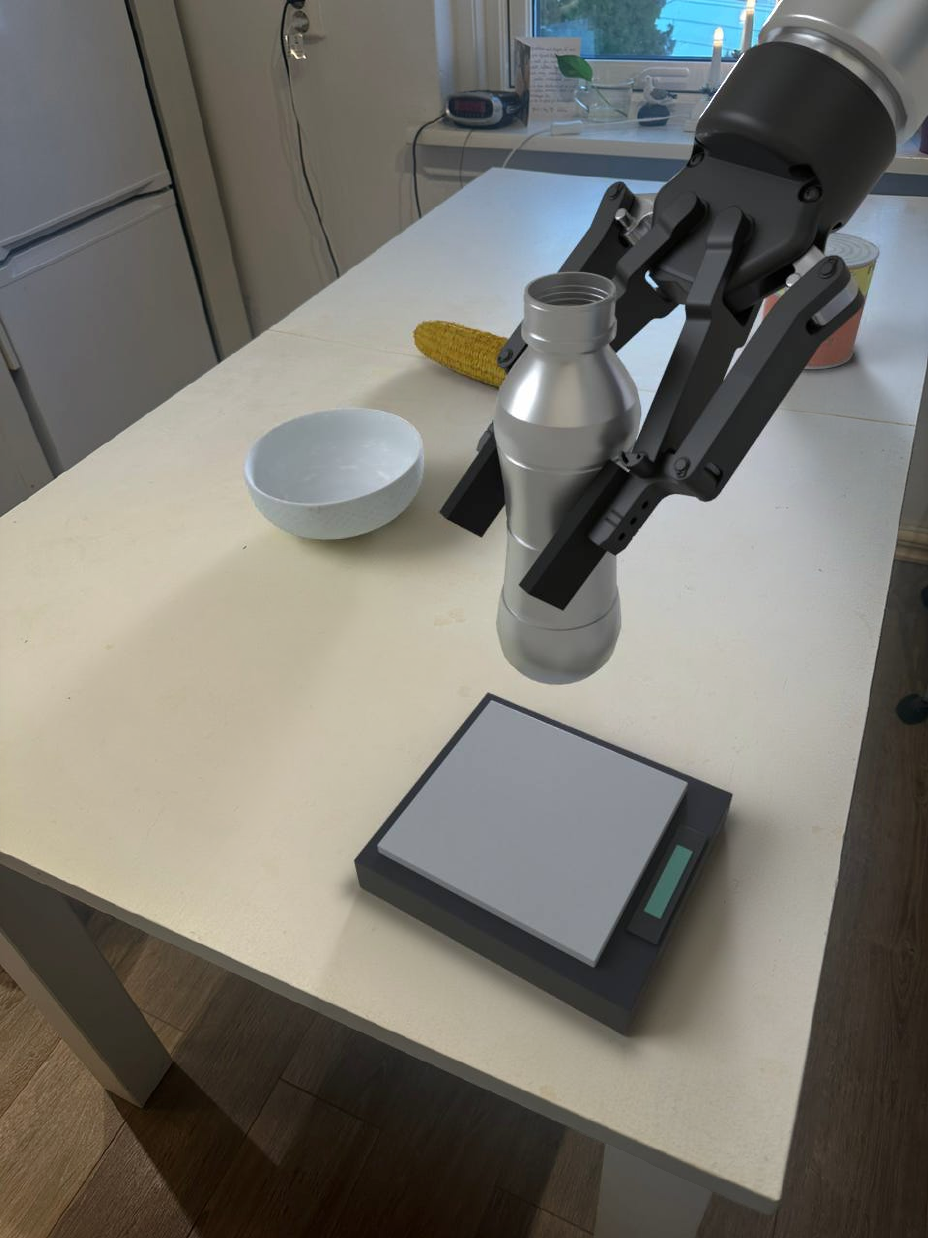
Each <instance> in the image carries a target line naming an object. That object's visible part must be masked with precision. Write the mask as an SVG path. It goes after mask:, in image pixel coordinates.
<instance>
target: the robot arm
mask: <svg viewBox="0 0 928 1238" xmlns="http://www.w3.org/2000/svg"><path fill="white" fill-rule="evenodd" d="M756 41H757V42H756V45H754V46H752V47H749V48H748V49H746V50H745V51H744V52H743V54H742V55H741V56H740V57H739V59H738V60H737V62H736V63H735V64H734V66H733V67H732V69H731V71H730V72H729V73H728V75H727V76H726V78H725V80H723V82H722V84H721V85H720V86H719V88H718V90H717V91H716V93H715V94H714V96H713V97H712V99H711V101H709V103H708V105H707V106H706V108H705V109H704V110H703V112H702V113H701V115H700V116H699V118H698V120H697V122H696V125H695V128H694V137H693V138H694V139H693V145H692V151H691V154H690V158H689V160H688V162H687V163H686V165H684V166H683V168H681V170H679V172H678V173H676V174H675V175H674V176H673V177H672V178H670V179H669V180H668V181H667V182H665V183H664V184H663V185H662V186H661V188H660V189H659V190H658V192H651V193H650V192H649V193H648V192H647V193H646V192H645V193H634V192H632V191H631V189H630V188H629V186H627V184H626V183H625V181H621V180H618V181H615V182H613V183H612V184H610V185H609V186H608V187H607V189H606V190H605V192H604V194H603V196H602V198H601V200H600V203H599V205H598V208H597V210H596V212H595V214H594V217H593V220H592V222H591V224H590V226H589V228H588V229H587V231H586V232H585V233H584V235H583V236H582V237H581V239H580V240H579V241H578V243H577V244H576V246H574V248H573V250H572V251H571V252H570V253H569V256H568V257H566V260H565V261H564V262H563V263H562V265H561V266H560V267H559V269H558V271H557V272H556V273H560V272H586V273H593V274H597V275H600V276H603V277H606V278H607V279H609V280H611V281H612V282H613V283H614V285H615V287H616V306H615V317H616V319H617V331H616V336H615V338H614V339H613V340H612V341H611V342H610V343H609V345H610V346H611V348H612V349H613V350H614V352H615V353H616V354H617V353H618V352H619V351H621V349H622V348H623V347H625V346H626V345H627V344H628V343H629V342H630V341H631V340H632V339H633V338H634V337H635V336H637V334H639V333H640V332H641V331H642V330H643V329H644V328H645V327H646V326H648V324H650V322H652V321H653V320H656V319H657V320H658V319H659V320H661V319H662V320H663V319H664V318H667V317H668V316H669V315H670V314H671V313H672V312H673V311H674V310H676V309H677V308H678V306H680V305H681V306H682V305H683V306H684V311H685V312H684V313H685V321H684V323H683V325H682V328H681V331H680V333H679V336H678V338H677V340H676V343H675V346H674V348H673V350H672V353H671V354H670V355H671V356H670V357H669V360H668V363H667V365H666V367H665V370H664V371H663V372H664V373H663V374H662V376H661V379H660V382H659V385H658V387H657V389H656V392H655V394H654V396H653V399H652V401H651V404H650V407H649V409H648V411H647V413H646V416H645V418H644V420H643V424H642V425H641V429H640V430H639V432H638V435H637V438H636V443H635V445H634V448H633V450H632V453H631V452H626V451H625V453H624V452H623V451H621V450H620V453H619V460H620V462H621V463H622V465H623V466H625V467H626V468H627V469H629V471H628V472H627V471H626V470H624V469H623V468H622V467H621V466H619V465H618V464H616V463H615V462H613V461H612V460H608V461H607V462H606V463H605V465H604V466H603V468H602V469H601V470H600V472H599V473H598V475H597V476H596V477H595V479H594V480H593V481H592V483H591V484H590V486H589V487H588V488H587V490H586V491H585V493H584V494H583V495H582V497H581V498H580V500H579V501H578V502H577V504H576V505H575V507H574V508H573V509H572V511H571V512H570V514H569V515H568V516H567V518H566V519H565V521H564V522H563V523H562V525H561V526H560V528H559V529H558V530H557V532H556V533H555V535H554V536H553V537H552V539H551V540H550V542H549V543H548V544H547V546H546V547H545V548H544V550H543V551H542V553H541V554H540V555H539V557H538V558H537V560H536V561H535V562H534V564H533V565H532V567H531V568H530V569H529V571H528V572H527V574H526V575H525V576H524V578H523V579H522V581H521V582H520V583H519V586H520V587H521V588H522V589H523V590H524V591H525V592H526V593H527V594H529V595H531V596H533V597H535V598H537V599H539V600H541V601H543V602H546V603H548V604H550V605H552V606H554V607H556V608H558V609H560V610H562V611H564V609H565V608H566V607H567V605H568V604H569V603H570V601H571V600H572V598H573V597H574V596H575V594H576V593H577V592H578V590H579V589H580V588H581V586H582V585H583V584H584V582H585V581H586V579H587V578H588V577H589V575H590V574H591V573H592V571H593V570H594V569H595V567H596V566H597V564H598V563H599V562H600V560H601V559H602V558H603V556H604V555H605V554H606V552H607V551H608V552H610V553H611V554H613V555H615V556H616V557H617V555H619V554H620V553H622V552H623V551H624V550H626V549H627V548H628V546H629V545H630V543H631V542H632V540H633V539H634V537H635V536H636V535H637V534H638V533H639V531H640V529H642V527H643V526H644V525H645V523H646V522H647V521H648V519H649V518H650V516H651V515H652V514H653V512H654V511H655V510H656V508H657V507H658V506H659V504H660V503H661V502H662V501H663V500H664V499H666V498H667V497H669V496H673V495H680V496H686V497H691V498H696V499H697V500H698V501H700V502H703V503H708V502H712V501H714V500H716V499H717V498H718V497H719V495H721V493H722V491H723V490H724V488H725V487H726V486H727V484H728V483H729V481H730V480H731V478H732V476H733V475H734V474H735V472H736V471H737V469H738V468H739V466H740V465H741V463H742V462H743V460H744V459H745V457H746V456H747V454H748V453H749V452H750V450H751V448H752V447H753V445H754V444H755V443H756V441H757V440H758V438H759V436H761V434H762V432H763V431H764V429H765V427H766V426H767V425H768V423H769V422H770V420H771V419H772V417H773V416H774V414H775V413H776V412H777V410H778V409H779V407H780V405H781V404H782V402H783V401H784V399H785V398H786V396H787V395H788V394H789V392H790V390H791V389H792V387H793V386H794V385H795V383H796V382H797V380H798V379H799V377H800V376H801V374H802V373H803V371H804V370H805V369H804V368H805V367H806V365H807V364H808V362H809V361H810V359H811V358H812V356H813V355H814V353H815V352H816V350H817V349H818V347H819V346H820V345H821V344H822V343H823V342H824V341H825V340H826V339H827V338H828V337H830V336H831V335H832V334H833V333H834V332H835V331H837V330H838V329H839V328H840V327H841V326H842V325H843V324H845V323H846V322H847V321H848V320H849V319H850V318H852V317H853V316H854V315H855V314H856V313H857V312H858V311H859V310H860V309H861V308H862V306H863V303H864V295H863V294H862V292H861V290H860V288H859V287H858V285H857V283H856V281H855V279H854V278H853V276H852V274H851V272H850V271H849V269H848V267H847V266H846V264H845V262H844V260H843V259H842V257H839V256H837V255H830V256H826V255H825V254H824V253H825V248H826V243H827V239H828V237H829V234H832V233H838V231H840V230H842V229H844V227H846V225H847V224H848V223H849V222H850V221H851V219H852V217H854V215H855V213H856V212H857V210H858V209H859V208H860V206H862V204H863V202H864V201H865V200H866V198H867V197H868V196H869V194H870V193H871V192H872V190H873V189H874V188H875V186H876V185H877V183H878V182H879V181H880V179H881V178H882V177H883V175H885V173H886V171H887V170H888V168H889V167H890V166H891V164H892V163H893V162H894V160H895V157H896V154H897V146H903V145H904V144H905V143H907V141H909V140H910V139H911V138H912V137H914V135H915V134H916V132H917V131H918V129H919V128H920V127H921V125H922V124H923V122H924V121H925V120H926V118H927V117H928V0H779V1H778V3H777V4H776V6H775V7H774V9H773V10H772V12H771V14H770V15H769V16H768V18H767V19H766V21H765V22H764V23H763V25H762V27H761V28H760V30H759V32H758V35H757V40H756ZM647 273H648V277H649V278H650V279H651V281H653V283H654V284H655V285H656V286H657V287H655V286H653V285H652V283H650V282H649V280H648V279H647V278H646V274H647ZM785 287H786V290H785V293H784V294H783V295H782V296H781V297H780V299H779V300H778V301H777V302H776V303H775V304H774V306H773V307H772V308H771V310H770V311H769V312H768V314H767V315H766V317H765V318H764V320H763V321H762V323H761V322H760V324H759V326H758V327H757V329H756V330H755V332H754V333H753V334H752V336H751V338H750V339H749V337H750V334H751V331H752V330H753V326H754V325H755V322H756V320H757V318H758V317H757V316H758V314H759V312H760V309H761V307H762V305H763V302H764V301H765V298H767V297H769V296H771V295H772V294H774V293H776V292H778V291H780V290H782V289H783V288H785ZM521 325H522V320H521V322H519V324H518V326H517V327H516V329H514V331H513V332H512V334H510V337H508V341H507V342H506V343H505V345H504V346H503V348H502V349H501V350H500V352H499V354H498V356H497V364H498V366H499V367H500V368H502V369H503V370H504V371H505V373H506V375H508V373H509V372H510V370H511V368H512V367H513V365H514V364H515V363H516V361H517V360H518V359H519V357H520V356H521V355H522V353H523V352H524V351H525V350H526V348H527V347H528V344H527V343H526V342H525V341H524V340H523V338H522V330H521ZM748 339H749V341H748ZM746 343H747V344H746ZM744 346H745V347H744ZM741 348H744V349H743V350H742V352H741V353H740V354H739V356H738V357H737V359H736V361H735V362H734V364H733V365H732V367H731V368H730V366H731V362H732V360H733V359H734V356H735V354H736V351H737V350H738V349H741ZM729 368H730V369H729ZM728 370H729V371H728ZM475 451H477V455H476V456H475V458H474V459H473V461H472V462H471V463H470V465H469V466H468V468H467V470H466V471H465V472H464V474H463V475H462V476H461V478H460V479H459V481H458V482H457V484H456V486H455V487H454V489H453V490H452V491H451V493H450V495H449V496H448V497H447V499H446V501H445V502H444V503H443V505H442V507H441V508H440V509H439V511H438V513H439V514H440V516H442V517H443V518H444V519H445V520H447V521H449V522H450V523H452V524H454V525H456V526H458V527H460V528H462V529H464V530H466V531H468V532H470V533H472V534H474V535H475V536H478V537H479V538H483V537H484V536H485V534H486V533H487V531H488V530H489V528H490V527H491V525H492V524H493V523H494V522H495V520H496V518H497V517H498V515H499V514H500V512H501V511H502V509H504V507H505V494H504V484H503V478H502V473H501V467H500V461H499V456H498V450H497V444H496V439H495V434H494V423H493V420H492V421H491V423H489V425H488V426H487V428H486V430H485V431H484V432H483V434H482V435H481V436H480V439H479V440H478V443H477V446H476V449H475Z"/></svg>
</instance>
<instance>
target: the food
mask: <svg viewBox="0 0 928 1238" xmlns="http://www.w3.org/2000/svg"><path fill="white" fill-rule="evenodd" d="M412 333H413V336H412V337H413V339H414V345H415V346H416V348H417V350H418V351H419V352H420V354H423V356H425V357H427V358H428V359H430V360H431V361H434V362H435V363H437V364H440V366H444V367H446V368H448V369H450V370H453V371H454V372H456V373H459V374H461V375H464V376H465V377H468V378H471V379H473V380H476V381H479V382H482V383H485V384H488V385H490V386H494V387H497V388H500V386H501V385H502V383H503V381H504V380H505V378H506V377H507V375H506V373H505V371H504V370H503V369H502V368H500V367H499V366H498V364H497V356H498V354H499V352H500V350H501V349H502V348H503V346H504V345H505V343H506V342H507V341H508V339H509V337H506V336H500V335H499V334H498V335H497V334H494V333H492V332H490V331H485V330H481V329H478V328H472V327H469V326H465V325H464V324H460V323H456V322H455V321H453V322H451V321H444V320H438V319H436V320H431V319H430V320H428V321H422V322H421V323H418V324H417V326H416V327H415V329H414V330H413V331H412Z"/></svg>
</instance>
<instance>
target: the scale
mask: <svg viewBox="0 0 928 1238" xmlns="http://www.w3.org/2000/svg"><path fill="white" fill-rule="evenodd" d="M432 760H433V761H432V762H431V763H430V764H429V765H428V766H427V768H426V769H425V770H424V771H423V773H422V774H421V775H420V777H419V778H418V779H417V781H416V782H415V783H414V784H413V785H412V787H411V788H410V789H409V790H408V792H407V793H406V794H405V795H404V797H403V798H402V799H401V800H400V802H398V804H397V806H395V807H394V809H393V811H392V812H391V813H390V814H389V816H388V817H387V818H386V819H385V821H384V822H383V823H382V824H381V826H380V827H379V828H378V829H377V830H376V832H375V833H374V834H373V836H372V837H371V838H370V839H369V840H368V842H367V843H366V845H365V846H363V848H362V849H361V851H360V852H358V854H357V855H356V857H355V858H354V859H353V863H354V868H355V872H356V876H357V880H358V885H359V887H360V888H361V889H363V890H365V891H366V892H368V893H370V894H371V895H374V896H376V898H379V899H380V900H382V901H384V902H386V903H388V904H389V905H392V906H393V907H395V908H396V909H398V910H400V911H402V912H404V913H405V914H407V915H409V916H411V917H412V918H414V919H416V920H417V921H419V922H422V923H423V924H425V925H427V926H429V927H430V928H432V929H434V930H436V931H437V932H439V933H441V934H443V935H444V936H446V937H448V938H450V939H451V940H453V941H455V942H457V943H459V944H461V946H464V947H466V948H467V949H469V950H471V951H473V952H475V953H476V954H478V955H480V956H482V957H484V958H485V959H487V960H489V961H491V962H492V963H494V964H496V965H498V966H500V967H501V968H503V969H505V970H506V971H508V972H510V973H512V974H514V975H515V976H518V977H519V978H521V979H523V980H524V981H526V982H527V983H530V984H531V985H533V986H535V987H536V988H538V989H540V990H541V991H544V992H546V993H547V994H549V995H551V996H552V997H555V998H556V999H558V1000H559V1001H561V1002H564V1003H565V1004H567V1005H568V1006H570V1007H572V1008H574V1009H576V1010H578V1011H579V1012H581V1013H582V1014H584V1015H586V1016H588V1017H590V1018H591V1019H594V1020H595V1021H597V1022H599V1023H600V1024H602V1025H604V1026H606V1027H608V1028H610V1029H611V1030H612V1031H615V1032H617V1033H619V1034H620V1035H622V1036H624V1037H626V1036H627V1034H628V1032H629V1030H630V1027H631V1025H632V1024H633V1021H634V1020H635V1017H636V1015H637V1013H638V1010H639V1009H640V1006H641V1004H642V1002H643V1000H644V998H645V995H646V994H647V991H648V989H649V988H650V985H651V983H652V981H653V978H654V976H655V974H656V972H657V970H658V968H659V965H660V964H661V961H662V959H663V957H664V955H665V953H666V951H667V949H668V946H669V944H670V942H671V940H672V938H673V935H674V933H675V931H676V928H677V927H678V925H679V923H680V920H681V918H682V916H683V914H684V912H685V910H686V908H687V905H688V903H689V901H690V899H691V897H692V895H693V893H694V890H695V888H696V887H697V884H698V882H699V880H700V878H701V875H702V873H703V871H704V869H705V867H706V865H707V862H708V861H709V858H710V856H711V854H712V852H713V850H714V848H715V846H716V844H717V842H718V839H719V837H720V835H721V833H722V831H723V828H724V827H725V824H726V822H727V818H728V815H729V811H730V807H731V803H732V799H733V795H734V794H733V793H732V792H729V791H727V790H725V789H723V788H720V787H718V786H716V785H712V784H710V783H708V782H706V781H704V780H701V779H699V778H696V777H693V776H691V775H689V774H686V773H684V772H681V771H679V770H676V769H674V768H672V767H670V766H667V765H664V764H663V763H660V762H658V761H655V760H653V759H650V758H648V757H646V756H643V755H641V754H639V753H636V752H633V751H632V750H629V749H626V748H624V747H621V746H619V745H617V744H614V743H612V742H609V741H607V740H605V739H602V738H600V737H597V736H595V735H592V734H590V733H587V732H585V731H583V730H581V729H578V728H575V727H573V726H571V725H569V724H566V723H564V722H561V721H559V720H556V719H554V718H552V717H549V716H547V715H545V714H543V713H539V712H537V711H535V710H532V709H530V708H528V707H525V706H523V705H520V704H518V703H516V702H514V701H511V700H508V699H506V698H503V697H501V696H499V695H496V694H493V693H492V692H489V691H488V692H487V693H485V695H484V697H483V698H482V699H481V700H480V701H479V702H478V704H477V705H476V706H475V708H474V709H473V710H472V711H471V712H470V714H469V715H468V716H467V718H466V719H465V720H464V722H463V723H462V724H461V725H460V726H459V728H458V729H457V730H456V731H455V732H454V734H453V735H452V736H451V737H450V739H449V740H448V741H447V742H446V744H445V745H444V746H443V748H442V749H441V750H440V751H439V752H438V754H437V755H436V757H434V759H432Z"/></svg>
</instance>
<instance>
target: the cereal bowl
mask: <svg viewBox="0 0 928 1238" xmlns="http://www.w3.org/2000/svg"><path fill="white" fill-rule="evenodd" d="M424 470H425V452H424V445H423V439H422V437H421V434H420V433H419V431H418V430H417V429H416V427H415V426H414V425H413V424H412V423H411V422H409V421H408V420H406V419H405V418H402V417H401V416H399V415H396V414H394V413H390V412H387V411H383V410H378V409H372V408H364V407H363V408H362V407H338V408H329V409H324V410H323V409H322V410H317V411H313V412H308V413H305V414H302V415H299V416H296V417H292V418H290V419H287V420H285V421H283V422H281V423H279V424H277V425H275V426H273V427H272V428H270V429H268V430H267V431H266V432H264V433H263V434H262V435H261V436H259V437H258V438H257V439H256V440H255V441H254V442H253V443H252V444H251V446H250V447H249V448H248V450H247V451H246V454H245V457H244V459H243V464H242V472H243V473H242V474H243V478H244V482H245V485H246V487H247V491H248V493H249V496H250V498H251V501H253V503H254V506H255V507H256V508H257V510H258V512H259V513H260V514H261V515H262V516H263V517H264V518H265V519H266V520H267V521H268V522H269V523H271V524H272V525H274V526H275V527H277V528H278V529H280V530H282V531H283V532H285V533H289V534H291V535H294V536H297V537H300V538H305V539H312V540H323V541H326V540H340V539H342V540H343V539H348V538H353V537H358V536H361V535H365V534H367V533H371V532H373V531H375V530H377V529H379V528H382V527H383V526H386V525H387V524H388V523H390V522H392V521H393V520H394V519H396V518H397V517H398V516H399V515H401V514H402V513H403V512H404V511H406V509H408V507H409V505H411V503H412V502H413V500H414V499H415V498H416V495H417V494H418V492H419V490H420V488H421V486H422V485H421V484H422V482H423V476H424Z"/></svg>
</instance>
